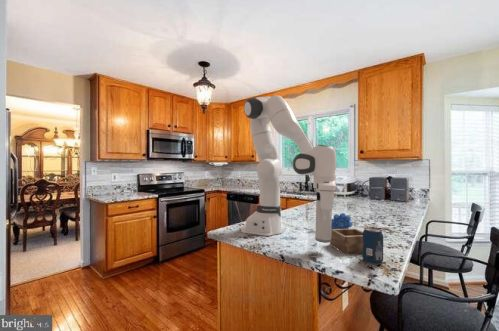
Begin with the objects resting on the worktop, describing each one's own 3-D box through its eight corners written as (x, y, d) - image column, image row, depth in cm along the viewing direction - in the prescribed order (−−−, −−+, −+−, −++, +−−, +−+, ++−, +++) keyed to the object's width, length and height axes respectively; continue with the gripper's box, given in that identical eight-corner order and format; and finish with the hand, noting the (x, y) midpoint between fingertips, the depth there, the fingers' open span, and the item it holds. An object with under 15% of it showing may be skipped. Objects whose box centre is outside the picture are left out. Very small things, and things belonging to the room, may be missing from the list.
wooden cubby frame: (344, 253, 95) (344, 236, 95) (330, 244, 106) (330, 229, 106) (371, 252, 97) (371, 235, 97) (355, 243, 108) (355, 228, 108)
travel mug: (311, 239, 98) (312, 191, 97) (322, 237, 101) (324, 191, 101) (322, 244, 92) (324, 193, 92) (334, 241, 95) (335, 192, 95)
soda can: (366, 256, 92) (366, 226, 92) (385, 261, 87) (386, 229, 87) (359, 261, 88) (359, 229, 88) (379, 267, 83) (379, 233, 83)
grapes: (349, 234, 122) (349, 211, 122) (353, 238, 115) (353, 214, 115) (326, 233, 124) (326, 210, 124) (329, 237, 117) (329, 213, 117)
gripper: (314, 182, 107) (313, 212, 107) (319, 185, 87) (317, 222, 87) (328, 182, 106) (327, 213, 106) (336, 186, 86) (335, 224, 86)
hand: (323, 217), depth 96 cm, fingers closed on travel mug, 6 cm apart
